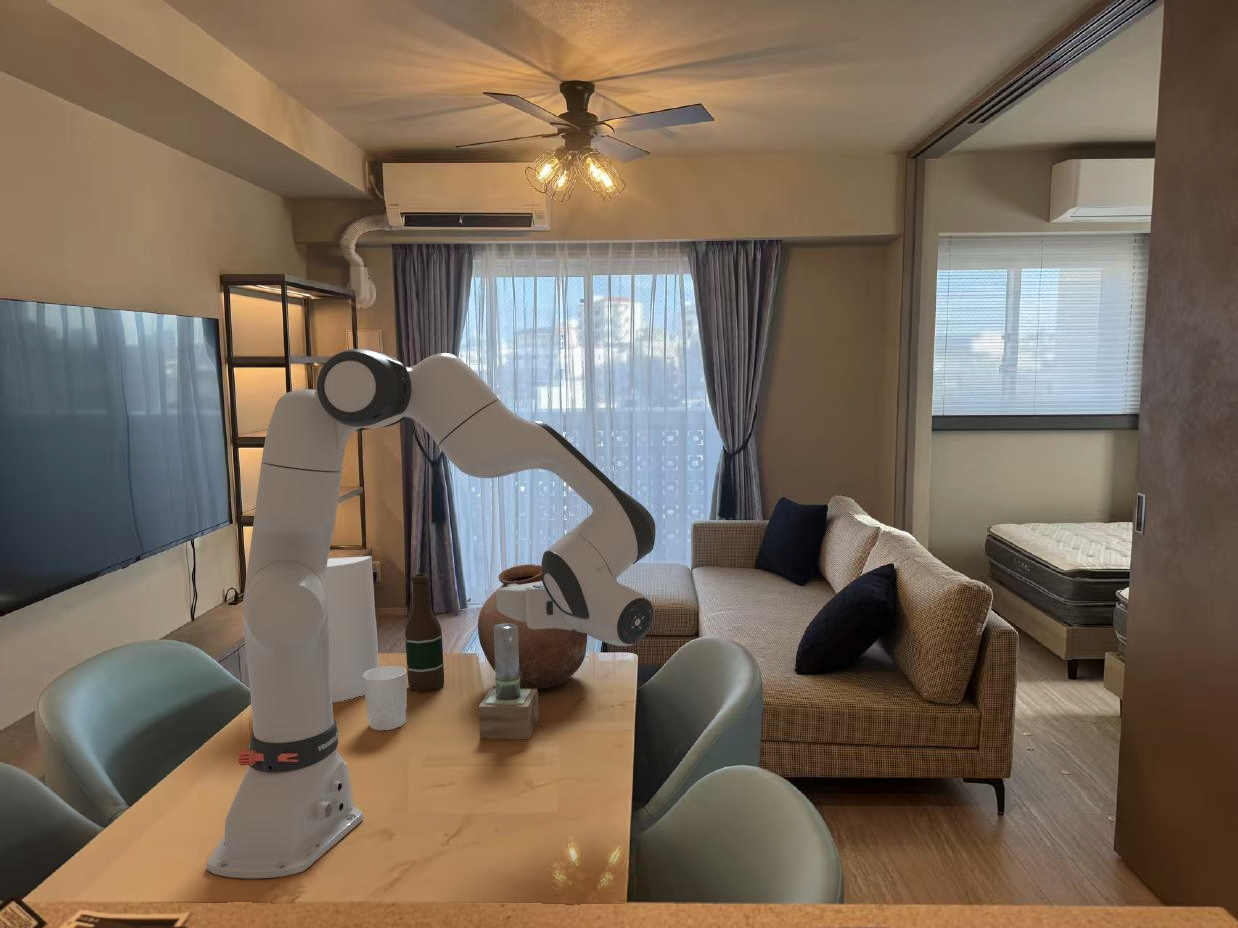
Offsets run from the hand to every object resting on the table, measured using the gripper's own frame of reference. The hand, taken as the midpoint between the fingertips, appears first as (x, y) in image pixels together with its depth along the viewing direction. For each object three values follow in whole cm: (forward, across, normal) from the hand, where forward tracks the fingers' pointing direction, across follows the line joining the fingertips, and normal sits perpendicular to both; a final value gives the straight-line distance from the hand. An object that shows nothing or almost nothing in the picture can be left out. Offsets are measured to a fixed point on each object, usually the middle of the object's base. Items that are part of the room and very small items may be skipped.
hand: (535, 584), depth 148 cm
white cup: (+29, +17, +30) cm, 45 cm away
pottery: (+30, -16, +29) cm, 45 cm away
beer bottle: (+44, +3, +30) cm, 53 cm away
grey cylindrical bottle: (+12, 0, +23) cm, 26 cm away
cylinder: (+55, +18, +30) cm, 65 cm away
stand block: (+12, 0, +29) cm, 32 cm away
